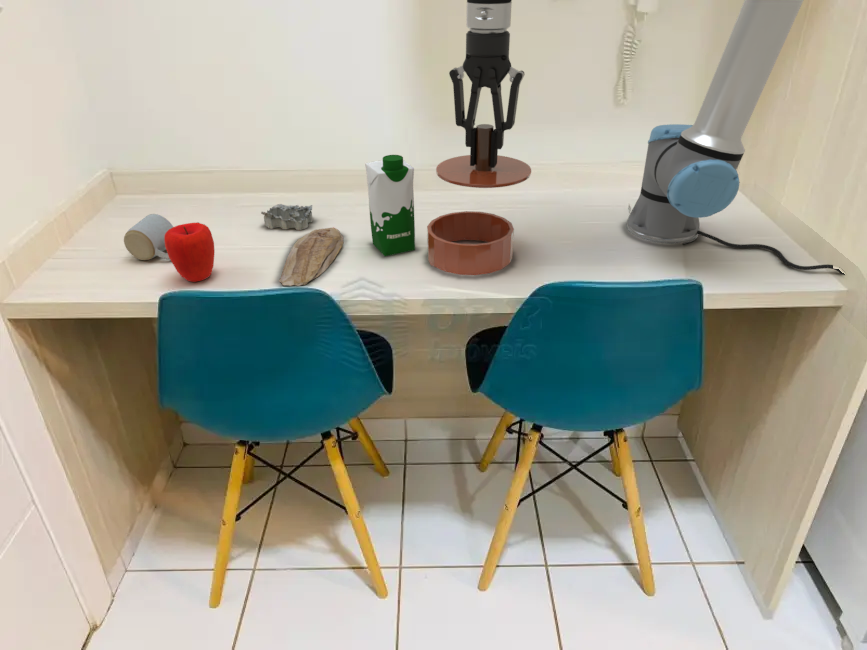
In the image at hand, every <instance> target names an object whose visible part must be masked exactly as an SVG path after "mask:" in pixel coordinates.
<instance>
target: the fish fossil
mask: <svg viewBox="0 0 867 650" xmlns="http://www.w3.org/2000/svg"><path fill="white" fill-rule="evenodd" d="M343 246H344V236H343V234H342V233H341V231H340V230H339V229H337V228H336V227H326V228H319V229H314V230H311V231H310V232H308V233H307V234H305V235H303V236H302V237H300V238H298V239H297V240H296V241H295V243H294V244H293V246H292V247H291V248H290V251H289V254H288V256H287V258H286V260H285V263H284V265H283V268H282V271H281V274H280V278H279V279H278V282H280V283H281V284H282V286H290V287H292V286H297V287H300V286H305V285H307V284H308V283H309V282H310V281H313V280H315V279H316V278H318V277H320V276H321V275H322V274H323V273H324V272H325V271H326V270H328V268H329V267H330V265H331V264H332V263H333V261H334V260H335V259H336V257H337V256H338V254H339V253H340V252H341V250H342V248H343Z"/></svg>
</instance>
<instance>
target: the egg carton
mask: <svg viewBox="0 0 867 650" xmlns="http://www.w3.org/2000/svg"><path fill="white" fill-rule="evenodd" d="M260 214H261V215H262V216H263V222H264V226H265V227H266V228H268V229H270V230H273V229H275V228H281V229H282V230H289V229H296V231H301V230H305V229H308V227H309V223H312V222H313V221H314V220H313V204H311V205H305V206H304V205H301V206H299V204H296V205H291V204H290V205H286V204H282V203H278V204H275V205H273V206H272V207H269V209H267V211H261V212H260Z"/></svg>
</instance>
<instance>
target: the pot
mask: <svg viewBox="0 0 867 650" xmlns="http://www.w3.org/2000/svg"><path fill="white" fill-rule="evenodd" d="M426 232H427V233H426V234H427V235H426V237H427V238H426V239H427V261H428V263H429V265H430V266H431V267H434V268H437V269H438V270H441V271H442V272H446V273H449V274H455V275H460V276H461V275H462V276H479V275H488V274H492V273H495V272H499V271H501V270H503V269H505V268H506V267H508V265H510V264H511V261H512V260H513V254H514V239H515V238H514V236H515V228H514V226H513V223H512V222H511V221H510V220H508V219H507V218H505V217H503V216H500V215H498V214H495V213H490V212H484V211H474V210H473V211H470V210H469V211H468V210H464V211H457V212H450V213H445V214H443V215H440V216H437V217H436V218H434V219H432V220H431V221H430V222H429V223H428V225H427V226H426ZM459 241H482V243H459Z"/></svg>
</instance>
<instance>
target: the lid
mask: <svg viewBox="0 0 867 650" xmlns="http://www.w3.org/2000/svg"><path fill="white" fill-rule="evenodd" d="M475 128H476V157H475V165H474V166H470V154H466V155H459V156H453V157H450V158H447V159H445V160H443V161H441V162H440V163H438V164H437V166H436V168H435V173H436V176H437V178H439V179H441V180H442V181H444V182H447V183H449V184H452V185H456V186H459V187H466V188H474V189H475V188H476V189H477V188H478V189H494V188H495V189H496V188H505V187H511V186H515V185H518V184H521V183H523V182H525V181H527V180H528V179H529V178H530V177H531V175H532V168H531V166H530V165H529V164H528V163H526V162H524V161H522V160H520V159H517V158H514V157H511V156H504V155H499V154H497V164H496V166H495V167H494V168H490V160H491V134H492V132H493V130H494V129H495V125H493V124H489V123H482V124H477V125H476V127H475Z"/></svg>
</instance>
